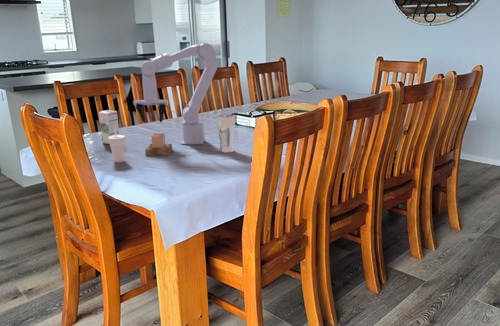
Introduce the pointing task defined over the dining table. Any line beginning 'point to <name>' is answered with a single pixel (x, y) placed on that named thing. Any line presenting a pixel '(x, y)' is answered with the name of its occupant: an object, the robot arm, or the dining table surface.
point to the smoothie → (117, 146)
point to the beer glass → (226, 132)
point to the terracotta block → (158, 140)
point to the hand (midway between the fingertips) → (152, 121)
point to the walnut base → (158, 150)
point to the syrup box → (108, 124)
